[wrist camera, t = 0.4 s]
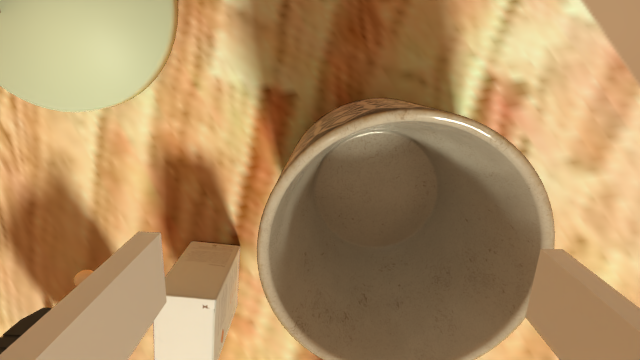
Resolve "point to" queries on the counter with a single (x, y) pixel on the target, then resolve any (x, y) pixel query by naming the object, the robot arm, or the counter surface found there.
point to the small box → (198, 303)
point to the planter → (402, 235)
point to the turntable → (83, 50)
